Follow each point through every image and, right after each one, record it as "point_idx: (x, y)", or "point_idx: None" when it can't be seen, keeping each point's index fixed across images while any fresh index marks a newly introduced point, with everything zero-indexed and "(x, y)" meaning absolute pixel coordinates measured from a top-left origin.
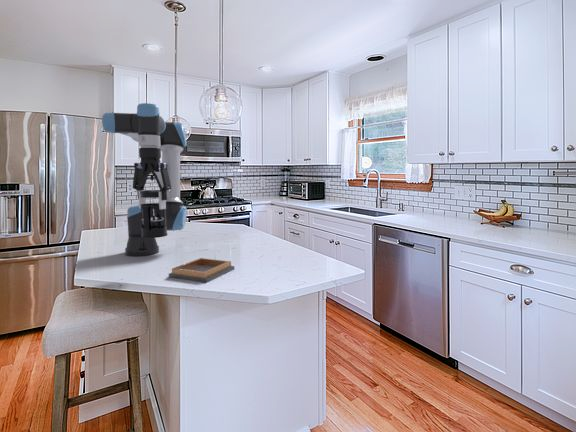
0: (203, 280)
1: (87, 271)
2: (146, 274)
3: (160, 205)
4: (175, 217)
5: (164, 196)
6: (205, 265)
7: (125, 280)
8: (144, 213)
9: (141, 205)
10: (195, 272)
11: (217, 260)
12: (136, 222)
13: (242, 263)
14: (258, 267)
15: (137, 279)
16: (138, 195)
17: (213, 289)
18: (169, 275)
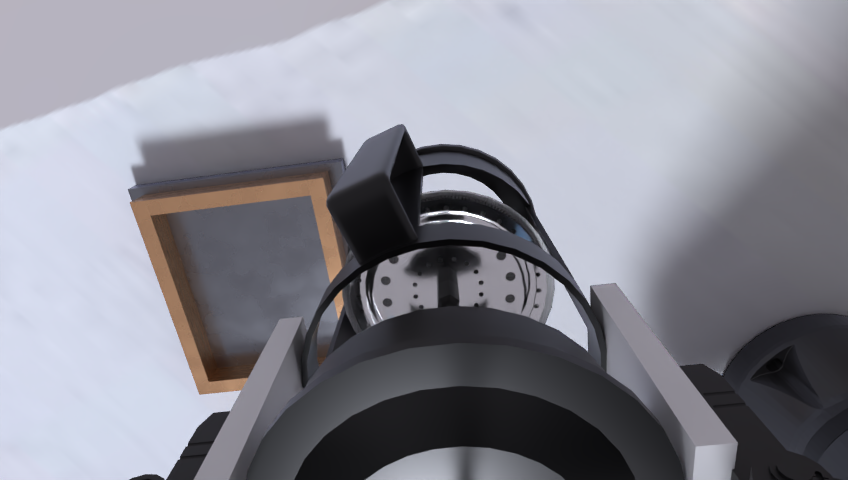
0: (149, 184)
1: (806, 4)
2: (470, 133)
3: (271, 345)
4: None
5: (183, 459)
6: None
7: (479, 7)
8: (374, 159)
9: (503, 244)
10: (184, 194)
11: None
12: None
13: None
14: (145, 436)
15: (440, 52)
16: (722, 403)
17: (35, 130)
18: (337, 161)
